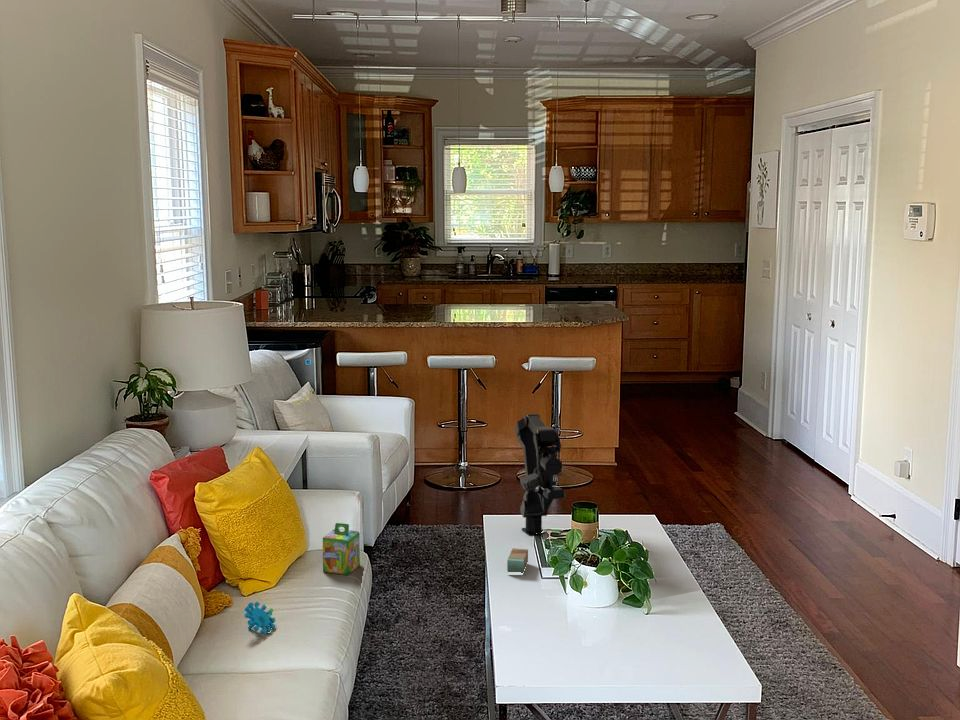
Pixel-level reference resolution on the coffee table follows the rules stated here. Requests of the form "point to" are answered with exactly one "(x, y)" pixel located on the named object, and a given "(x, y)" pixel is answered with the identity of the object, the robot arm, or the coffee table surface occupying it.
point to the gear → (259, 617)
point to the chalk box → (341, 550)
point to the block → (517, 560)
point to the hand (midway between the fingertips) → (545, 511)
